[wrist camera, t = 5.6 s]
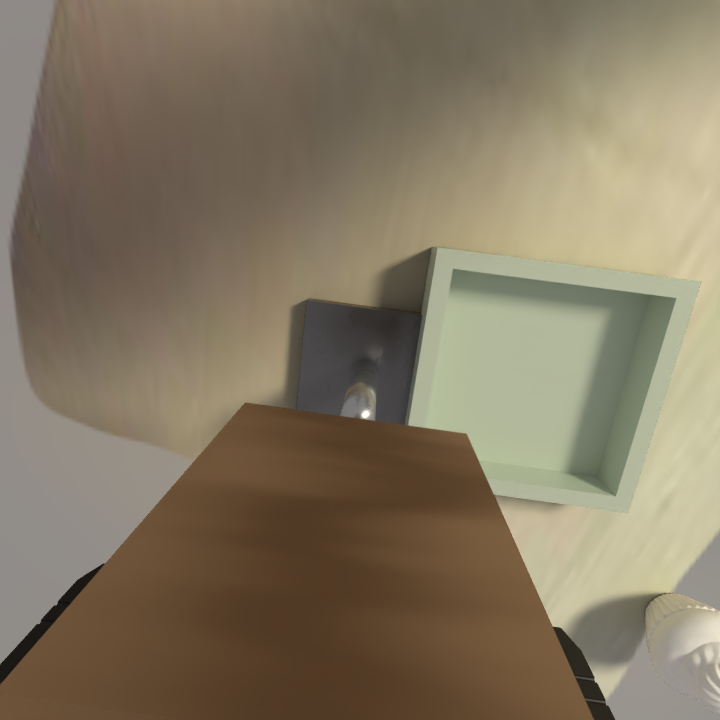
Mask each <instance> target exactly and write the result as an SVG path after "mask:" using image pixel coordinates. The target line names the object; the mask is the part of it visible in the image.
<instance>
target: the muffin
mask: <svg viewBox="0 0 720 720" xmlns="http://www.w3.org/2000/svg"><path fill="white" fill-rule="evenodd" d="M645 622H646V639H647V647H648V650H649V653H650V659H651V663H652V666H653V668H654V670H655V672H656V673H657V675H658V676H659V678H660V679H661V680H662V681H663V682H664V683H665V684H666V685H667V686H669V687H670V688H671V689H673V690H675V691H676V692H679V693H681V694H684V695H687V696H691V697H693V698H695V699H697V700H700V701H701V703H702V704H703V705H704V706H706V707H707V708H708V709H709V710H711V711H712V712H714V713H716V714H718V715H720V611H718V610H716V609H714V608H712V607H710V606H708V605H705V604H703V603H700V602H698V601H695V600H693V599H690V598H688V597H686V596H683V595H679V594H677V593H676V594H673V593H671V594H668V593H666V594H662V595H661V596H658V597H657V598H654V600H653V601H650V604H648V607H647V608H646V611H645Z"/></svg>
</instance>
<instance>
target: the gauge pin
mask: <svg viewBox="0 0 720 720" xmlns="http://www.w3.org/2000/svg"><path fill="white" fill-rule="evenodd" d="M421 321H422V314H421V313H415V312H408V311H400V310H393V309H385V308H378V307H370V306H363V305H355V304H348V303H340V302H332V301H325V300H317V299H310V298H309V299H308V300H307V302H306V312H305V323H304V333H303V344H302V354H301V365H300V375H299V386H298V396H297V407H296V410H301V411H308V412H315V413H323V414H330V415H337V416H344V417H351V418H358V419H366V420H373V421H380V422H387V423H394V424H401V425H405V419H406V413H407V407H408V401H409V394H410V388H411V382H412V376H413V370H414V364H415V358H416V351H417V345H418V339H419V333H420V327H421Z"/></svg>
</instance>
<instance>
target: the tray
mask: <svg viewBox="0 0 720 720" xmlns="http://www.w3.org/2000/svg"><path fill="white" fill-rule="evenodd" d="M700 284H701V282H700V281H693V280H685V279H677V278H669V277H662V276H654V275H646V274H639V273H631V272H623V271H616V270H608V269H600V268H593V267H585V266H577V265H570V264H562V263H554V262H547V261H539V260H531V259H523V258H516V257H508V256H500V255H493V254H485V253H477V252H470V251H462V250H454V249H447V248H439V247H432V248H431V254H430V260H429V266H428V273H427V279H426V285H425V291H424V297H423V303H422V310H421V314H422V321H421V327H420V333H419V339H418V345H417V351H416V358H415V364H414V370H413V376H412V382H411V388H410V394H409V401H408V407H407V413H406V419H405V425H409V426H416V427H423V428H430V429H437V430H444V431H452V432H459V433H466V434H467V435H468V438H469V440H470V442H471V444H472V447H473V449H474V451H475V453H476V456H477V458H478V460H479V462H480V465H481V467H482V469H483V471H484V474H485V476H486V478H487V480H488V483H489V485H490V487H491V489H492V492H493V494H494V495H500V496H507V497H514V498H521V499H529V500H536V501H543V502H550V503H558V504H565V505H572V506H579V507H587V508H594V509H601V510H608V511H615V512H623V513H628V511H629V508H630V505H631V502H632V498H633V495H634V492H635V489H636V486H637V483H638V480H639V476H640V473H641V470H642V467H643V464H644V461H645V458H646V454H647V451H648V448H649V445H650V442H651V439H652V436H653V432H654V429H655V426H656V423H657V420H658V417H659V413H660V410H661V407H662V404H663V401H664V398H665V395H666V391H667V388H668V385H669V382H670V379H671V376H672V373H673V369H674V366H675V363H676V360H677V357H678V354H679V350H680V347H681V344H682V341H683V338H684V335H685V332H686V328H687V325H688V322H689V319H690V316H691V313H692V310H693V306H694V303H695V300H696V297H697V294H698V291H699V288H700Z"/></svg>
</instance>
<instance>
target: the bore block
mask: <svg viewBox="0 0 720 720" xmlns="http://www.w3.org/2000/svg"><path fill="white" fill-rule="evenodd" d="M0 720H594V719H593V717H592V714H591V712H590V710H589V708H588V705H587V703H586V701H585V699H584V696H583V694H582V692H581V690H580V687H579V685H578V683H577V681H576V678H575V676H574V674H573V672H572V669H571V667H570V665H569V663H568V660H567V658H566V656H565V654H564V651H563V649H562V647H561V645H560V642H559V640H558V638H557V636H556V633H555V631H554V629H553V627H552V624H551V622H550V620H549V618H548V615H547V613H546V611H545V609H544V606H543V604H542V602H541V600H540V597H539V595H538V593H537V591H536V588H535V586H534V584H533V582H532V579H531V577H530V575H529V573H528V570H527V568H526V566H525V564H524V561H523V559H522V557H521V555H520V552H519V550H518V548H517V546H516V543H515V541H514V539H513V537H512V534H511V532H510V530H509V528H508V525H507V523H506V521H505V519H504V516H503V514H502V512H501V510H500V507H499V505H498V503H497V501H496V498H495V496H494V494H493V492H492V489H491V487H490V485H489V483H488V480H487V478H486V476H485V474H484V471H483V469H482V467H481V465H480V462H479V460H478V458H477V456H476V453H475V451H474V449H473V447H472V444H471V442H470V440H469V438H468V435H467V434H466V433H459V432H452V431H444V430H437V429H430V428H423V427H416V426H409V425H401V424H394V423H387V422H380V421H373V420H366V419H358V418H351V417H344V416H337V415H330V414H323V413H315V412H308V411H301V410H294V409H287V408H280V407H272V406H265V405H258V404H251V403H245V404H244V405H243V406H242V407H241V408H240V409H239V410H238V412H237V413H236V414H235V415H234V416H233V417H232V419H231V420H230V421H229V422H228V423H227V424H226V425H225V427H224V428H223V429H222V430H221V431H220V432H219V433H218V435H217V436H216V437H215V438H214V439H213V440H212V442H211V443H210V444H209V445H208V446H207V447H206V448H205V450H204V451H203V452H202V453H201V454H200V455H199V456H198V458H197V459H196V460H195V461H194V462H193V463H192V465H191V466H190V467H189V468H188V469H187V471H185V473H184V474H183V475H182V476H181V477H180V478H179V479H178V481H177V482H176V483H175V484H174V485H173V486H172V488H171V489H170V490H169V491H168V492H167V493H166V494H165V496H164V497H163V498H162V499H161V500H160V501H159V503H158V504H157V505H156V506H155V507H154V508H153V510H152V511H151V512H150V513H149V514H148V515H147V516H146V518H145V519H144V520H143V521H142V522H141V523H140V525H139V526H138V527H137V528H136V529H135V530H134V531H133V532H132V534H131V535H130V536H129V537H128V538H127V539H126V540H125V542H124V543H123V544H122V545H121V546H120V547H119V549H118V550H117V551H116V552H115V553H114V554H113V555H112V557H111V558H110V559H109V560H108V561H107V562H106V563H105V565H104V566H103V567H102V568H101V569H100V570H99V572H98V573H97V574H96V575H95V576H94V577H93V578H92V580H91V581H90V582H89V583H88V584H87V585H86V587H85V588H84V589H83V590H82V591H81V592H80V593H79V595H78V596H77V597H76V598H75V599H74V600H73V601H72V603H71V604H70V605H69V606H68V607H67V608H66V610H65V611H64V612H63V613H62V614H61V615H60V616H59V618H58V619H57V620H56V621H55V622H54V623H53V624H52V626H51V627H50V628H49V629H48V630H47V631H46V633H45V634H44V635H43V636H42V637H41V638H40V639H39V641H38V642H37V643H36V644H35V645H34V646H33V647H32V649H31V650H30V651H29V652H28V653H27V654H26V656H25V657H24V658H23V659H22V660H21V661H20V662H19V664H18V665H17V666H16V667H15V668H14V669H13V671H12V672H11V673H10V674H9V675H8V676H7V677H6V679H5V680H4V681H3V682H2V683H1V684H0Z"/></svg>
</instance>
